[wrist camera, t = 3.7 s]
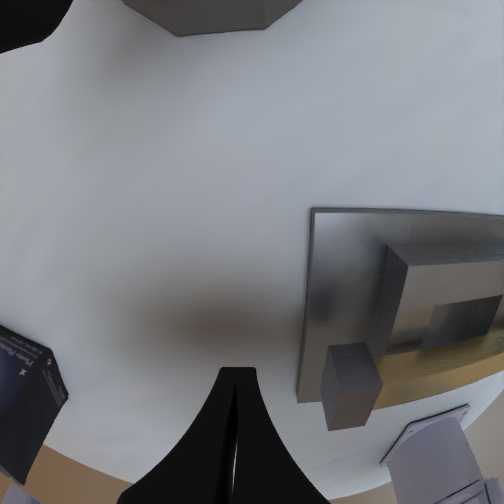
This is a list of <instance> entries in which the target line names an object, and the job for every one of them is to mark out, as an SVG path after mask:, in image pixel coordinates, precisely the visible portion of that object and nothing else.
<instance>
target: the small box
mask: <svg viewBox="0 0 504 504" xmlns="http://www.w3.org/2000/svg"><path fill="white" fill-rule="evenodd" d="M67 400H68V395H67V393H66V391H65V388H64V386H63V383H62V381H61V378H60V375H59V372H58V369H57V366H56V363H55V360H54V358H53V355H52V352H51V351H50V350H49V349H47V348H44V347H42V346H40V345H38V344H35V343H33V342H31V341H29V340H27V339H25V338H23V337H21V336H19V335H17V334H15V333H13V332H11V331H9V330H7V329H6V328H4V327H2V326H0V471H1V472H2V473H3V474H5V475H6V476H7V477H9V478H10V479H12V480H13V481H15V482H16V483H18V484H19V485H21V486H24V485H25V482H26V478H27V475H28V473H29V471H30V469H31V466H32V464H33V462H34V460H35V458H36V456H37V454H38V452H39V449H40V448H41V446H42V444H43V442H44V440H45V438H46V436H47V434H48V432H49V430H50V428H51V427H52V425H53V423H54V420H55V419H56V417H57V415H58V413H59V412H60V410H61V408H62V406H63V405H64V403H65V402H66V401H67Z"/></svg>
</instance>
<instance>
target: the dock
mask: <svg viewBox="0 0 504 504" xmlns="http://www.w3.org/2000/svg"><path fill="white" fill-rule="evenodd" d="M503 329H504V216H498V215H487V214H474V213H460V212H443V211H424V210H401V209H367V208H312V210H311V234H310V253H309V270H308V284H307V297H306V309H305V321H304V331H303V341H302V351H301V360H300V368H299V377H298V385H297V392H296V395H297V403H306V402H318V401H322V398H321V393H320V385H321V381H322V376H323V371H324V366H325V361H326V355H327V350H328V346H329V345H340V344H351V343H361V342H366V344H367V347H368V349H369V351H370V354H371V356H372V358H375V357H382V356H389V355H395V354H401V353H407V352H413V351H418V350H423V349H428V348H433V347H438V346H442V345H447V344H451V343H455V342H460V341H464V340H468V339H471V338H475V337H479V336H483V335H486V334H490V333H493V332H496V331H500V330H503ZM475 382H476V381H475ZM472 383H473V382H472ZM470 384H471V383H470ZM467 385H468V384H467ZM464 386H465V385H464ZM461 387H462V386H461ZM458 388H459V387H458ZM455 389H456V388H455ZM452 390H453V389H452ZM449 391H450V390H449ZM446 392H447V391H446ZM443 393H444V392H443ZM439 394H441V393H439ZM436 395H437V394H436ZM433 396H434V395H433ZM429 397H430V396H429ZM425 398H427V397H425ZM422 399H423V398H422ZM418 400H420V399H418ZM414 401H416V400H414ZM410 402H412V401H410ZM406 403H408V402H406ZM402 404H403V403H402ZM397 405H399V404H397ZM393 406H395V405H393ZM388 407H390V406H388ZM383 408H385V407H383ZM378 409H380V408H378ZM373 410H375V409H373Z"/></svg>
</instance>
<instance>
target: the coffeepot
mask: <svg viewBox="0 0 504 504" xmlns="http://www.w3.org/2000/svg"><path fill="white" fill-rule="evenodd" d="M122 1H123V3H124V4H125V5H127V6H129V7H130V8H132V9H134V10H136V11H137V12H139V13H141V14H142V15H144V16H146V17H147V18H149V19H150V20H152V21H154V22H156V23H158V24H159V25H161V26H162V27H164V28H165V29H167V30H169V31H170V32H172V33H173V34H175V35H176V36H182V35H190V34H199V33H223V32H229V31H236V30H243V29H254V28H267V27H268V26H269V25H270V24H272V23H273V22H274V21H275V20H277V19H278V18H279V17H280V16H282V15H283V14H285V13H286V12H288V11H289V10H291V9H293V8H294V7H295V6H296V5H297V4H299V3H300V2H301V1H302V0H122ZM72 2H73V0H0V54H1V53H4V52H7V51H10V50H13V49H17V48H20V47H23V46H27V45H31V44H35V43H39V42H42V41H43V40H44V39H46V38H47V37H48V36H50V35H51V34H52V33H53V32H54V31H55V29H56V28H57V27H58V26H59V24H60V22H61V21H62V19H63V18H64V16H65V14H66V13H67V11H68V10H69V8H70V6H71V4H72Z"/></svg>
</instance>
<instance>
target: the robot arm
mask: <svg viewBox="0 0 504 504" xmlns="http://www.w3.org/2000/svg"><path fill="white" fill-rule="evenodd" d="M470 408H471V407H470V405H466V406H463V407H461V408H458V409H455V410H453V411H450V412H447V413H444V414H441V415H438V416H435V417H432V418H429V419H426V420H423V421H419V422H416V423H412V424H410V425H409V426H408V427H407V428H406V430H405V431H404V433H403V434H402V436H401V437H400V438H399V440H398V441H397V443H396V444H395V445H394V447H393V448H392V449H391V451H390V452H389V453H388V455H387V456H386V457H385V458H384V460H383V461H382V462H381V463H380V467H385V466H388V468H389V472H390V475H391V479H392V482H393V486H394V490H395V494H396V498H397V501H398V504H504V488H503V485H502V483H501V481H500V480H499V479H498V478H493V477H491V478H490V479H489V480H487V479H483V476H482V473H481V471H480V468H479V466H478V464H477V461H476V459H475V456H474V454H473V452H472V450H471V448H470V445H469V443H468V441H467V439H466V437H465V435H464V432H463V430H462V428H461V426H460V424H459V423H460V421H461V420H462V419H463V418H464V416H465V415H466V414H467V412H468V411H469V410H470ZM237 438H238V440H237ZM236 446H237V453H236V464H235V475H234V485H233V468H234V459H235V452H236ZM3 504H43V503H41V502H40V501H39V500H37V499H36V498H34V497H33V496H31V495H29V494H28V493H26V492H25V491H23V490H21V489H20V488H18V487H17V486H15V485H14V484H10V486H9V488H8V491H7V493H6V496H5V498H4V501H3ZM117 504H331V503H330V502H329V501H328V500H327V499H326V498H325V497H324V496H323V495H322V494H321V493H320V492H319V491H318V490H317V489H316V488H315V487H314V486H313V484H312V483H311V482H310V481H309V480H308V478H307V477H306V476H305V475H304V473H303V472H302V471H301V469H300V468H299V467H298V465H297V464H296V463H295V461H294V460H293V458H292V457H291V455H290V454H289V452H288V451H287V449H286V447H285V446H284V444H283V442H282V441H281V439H280V437H279V435H278V433H277V431H276V429H275V427H274V425H273V423H272V421H271V419H270V417H269V414H268V412H267V409H266V407H265V404H264V401H263V399H262V396H261V392H260V389H259V385H258V381H257V374H256V369H255V368H254V367H222V368H220V370H219V373H218V376H217V379H216V381H215V383H214V386H213V388H212V390H211V392H210V394H209V396H208V398H207V399H206V401H205V403H204V405H203V407H202V408H201V410H200V412H199V413H198V415H197V417H196V418H195V420H194V421H193V423H192V424H191V426H190V427H189V429H188V430H187V431H186V433H185V434H184V435H183V437H182V438H181V439H180V440H179V442H178V443H177V444H176V445H175V446H174V448H173V449H172V450H171V451H170V452H169V453H168V454H167V455H166V456H165V457H164V458H163V460H162V461H161V462H160V463H158V464H157V465H156V466H155V467H154V468H153V469H152V470H151V471H150V472H148V473H147V474H146V475H145V476H144V477H143V478H141V479H140V480H139V481H137V482H136V483H135V484H133V485H132V486H131V487H129V488H128V489H126V490H125V491H124V492H122V493H121V495H120V497H119V499H118V501H117Z"/></svg>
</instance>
